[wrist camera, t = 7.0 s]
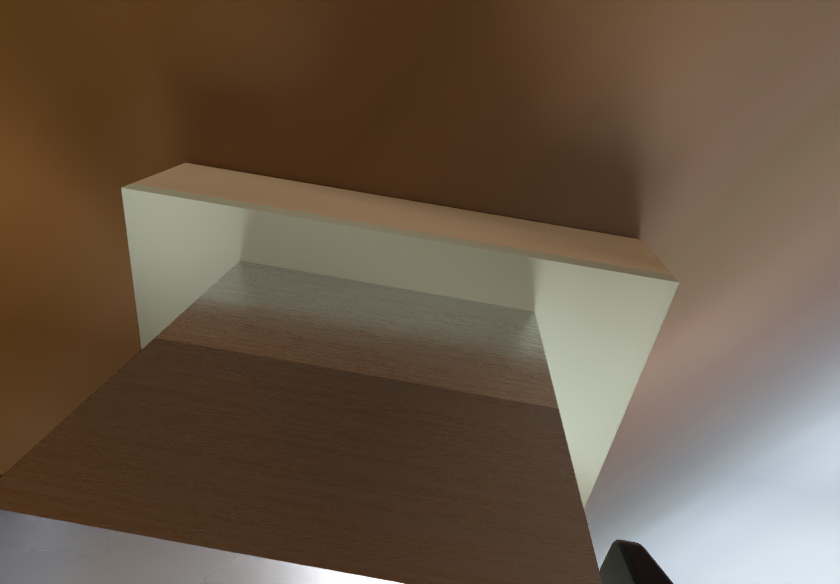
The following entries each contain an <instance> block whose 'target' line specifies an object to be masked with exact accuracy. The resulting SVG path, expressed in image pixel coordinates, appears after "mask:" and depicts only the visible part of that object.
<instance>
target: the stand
mask: <svg viewBox="0 0 840 584" xmlns="http://www.w3.org/2000/svg"><path fill="white" fill-rule="evenodd" d="M121 191H122V199H123V207H124V214H125V222H126V230H127V238H128V246H129V254H130V262H131V270H132V278H133V286H134V294H135V302H136V310H137V318H138V326H139V333H140V341H141V349H143V348H144V347H145V346H146V345H147V344H148V343H149V342H151V341H152V340H153V339H154V338H155V337H156V336H157V335H158V334H159V333H160V332H162V331H163V330H164V329H165V328H166V327H167V326H168V325H169V324H170V323H171V322H173V321H174V320H175V319H176V318H177V317H178V316H179V315H180V314H181V313H183V312H184V311H185V310H186V309H187V308H188V307H189V306H190V305H191V304H192V303H194V302H195V301H196V300H197V299H198V298H199V297H200V296H201V295H202V294H203V293H205V292H206V291H207V290H208V289H209V288H210V287H211V286H212V285H213V284H215V283H216V282H217V281H218V280H219V279H220V278H221V277H222V276H223V275H224V274H226V273H227V272H228V271H229V270H230V269H231V268H232V267H233V266H234V265H235V264H237V263H238V262H239V261H240V260H241V261H246V262H252V263H258V264H264V265H269V266H275V267H281V268H287V269H292V270H298V271H304V272H310V273H316V274H321V275H327V276H333V277H339V278H344V279H350V280H356V281H362V282H367V283H373V284H379V285H385V286H391V287H396V288H402V289H408V290H414V291H419V292H425V293H431V294H437V295H442V296H448V297H454V298H460V299H466V300H471V301H477V302H483V303H489V304H494V305H500V306H506V307H512V308H517V309H523V310H529V311H535V315H536V319H537V323H538V327H539V331H540V335H541V339H542V343H543V347H544V351H545V355H546V359H547V363H548V367H549V371H550V375H551V379H552V383H553V387H554V391H555V396H556V400H557V404H558V408H559V412H560V416H561V420H562V424H563V428H564V432H565V436H566V440H567V444H568V448H569V452H570V456H571V460H572V464H573V468H574V472H575V476H576V480H577V484H578V488H579V492H580V496H581V500H582V504H583V508H585V506H586V503H587V501H588V498H589V496H590V494H591V491H592V489H593V487H594V484H595V482H596V479H597V477H598V475H599V472H600V470H601V468H602V465H603V463H604V461H605V458H606V456H607V453H608V451H609V449H610V446H611V444H612V442H613V439H614V437H615V434H616V432H617V430H618V427H619V425H620V423H621V420H622V418H623V415H624V413H625V411H626V408H627V406H628V404H629V401H630V399H631V397H632V394H633V392H634V389H635V387H636V385H637V382H638V380H639V378H640V375H641V373H642V370H643V368H644V366H645V363H646V361H647V359H648V356H649V354H650V352H651V349H652V347H653V344H654V342H655V340H656V337H657V335H658V333H659V330H660V328H661V325H662V323H663V321H664V318H665V316H666V314H667V311H668V309H669V306H670V304H671V302H672V299H673V297H674V295H675V292H676V290H677V288H678V285H679V281H678V280H677V279H676V278H675V277H674V276H673V275H672V274H671V273H670V272H669V270H668V269H667V268H666V267H665V266H664V265H663V264H662V263H661V262H660V261H659V259H658V258H657V257H656V256H655V255H654V254H653V253H652V252H651V251H650V250H649V248H648V247H647V246H646V245H645V244H644V243H643V242H642V241H641V240H640V239H635V238H629V237H623V236H617V235H611V234H605V233H599V232H593V231H587V230H581V229H576V228H570V227H564V226H558V225H552V224H546V223H540V222H534V221H528V220H522V219H516V218H510V217H504V216H499V215H493V214H487V213H481V212H475V211H469V210H463V209H457V208H451V207H445V206H439V205H433V204H428V203H422V202H416V201H410V200H404V199H398V198H392V197H386V196H380V195H374V194H368V193H362V192H356V191H351V190H345V189H339V188H333V187H327V186H321V185H315V184H309V183H303V182H297V181H291V180H285V179H279V178H274V177H268V176H262V175H256V174H250V173H244V172H238V171H232V170H226V169H220V168H214V167H208V166H202V165H197V164H191V163H183V164H181V165H178V166H175V167H173V168H170V169H168V170H165V171H163V172H160V173H157V174H155V175H152V176H150V177H147V178H145V179H142V180H139V181H137V182H134V183H132V184H129V185H127V186H124V187H121Z"/></svg>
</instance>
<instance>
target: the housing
mask: <svg viewBox="0 0 840 584" xmlns="http://www.w3.org/2000/svg"><path fill="white" fill-rule="evenodd" d="M0 584H602V581H601V577H600V572H599V568H598V564H597V560H596V556H595V552H594V548H593V544H592V540H591V536H590V532H589V528H588V524H587V520H586V516H585V512H584V508H583V504H582V500H581V496H580V492H579V488H578V484H577V480H576V476H575V472H574V468H573V464H572V460H571V456H570V452H569V448H568V444H567V440H566V436H565V432H564V428H563V424H562V420H561V416H560V412H559V408H558V404H557V400H556V396H555V391H554V387H553V383H552V379H551V375H550V371H549V367H548V363H547V359H546V355H545V351H544V347H543V343H542V339H541V335H540V331H539V327H538V323H537V319H536V315H535V311H529V310H523V309H517V308H512V307H506V306H500V305H494V304H489V303H483V302H477V301H471V300H466V299H460V298H454V297H448V296H442V295H437V294H431V293H425V292H419V291H414V290H408V289H402V288H396V287H391V286H385V285H379V284H373V283H367V282H362V281H356V280H350V279H344V278H339V277H333V276H327V275H321V274H316V273H310V272H304V271H298V270H292V269H287V268H281V267H275V266H269V265H264V264H258V263H252V262H246V261H241V260H240V261H239V262H238V263H237V264H235V265H234V266H233V267H232V268H231V269H230V270H229V271H228V272H227V273H226V274H224V275H223V276H222V277H221V278H220V279H219V280H218V281H217V282H216V283H215V284H213V285H212V286H211V287H210V288H209V289H208V290H207V291H206V292H205V293H203V294H202V295H201V296H200V297H199V298H198V299H197V300H196V301H195V302H194V303H192V304H191V305H190V306H189V307H188V308H187V309H186V310H185V311H184V312H183V313H181V314H180V315H179V316H178V317H177V318H176V319H175V320H174V321H173V322H171V323H170V324H169V325H168V326H167V327H166V328H165V329H164V330H163V331H162V332H160V333H159V334H158V335H157V336H156V337H155V338H154V339H153V340H152V341H151V342H149V343H148V344H147V345H146V346H145V347H144V348H143V349H142V350H141V351H140V352H138V353H137V354H136V355H135V356H134V357H133V358H132V359H131V360H130V361H128V362H127V363H126V364H125V365H124V366H123V367H122V368H121V369H120V370H119V371H117V372H116V373H115V374H114V375H113V376H112V377H111V378H110V379H109V380H108V381H106V382H105V383H104V384H103V385H102V386H101V387H100V388H99V389H98V390H96V391H95V392H94V393H93V394H92V395H91V396H90V397H89V398H88V399H87V400H85V401H84V402H83V403H82V404H81V405H80V406H79V407H78V408H77V409H76V410H74V411H73V412H72V413H71V414H70V415H69V416H68V417H67V418H66V419H64V420H63V421H62V422H61V423H60V424H59V425H58V426H57V427H56V428H55V429H53V430H52V431H51V432H50V433H49V434H48V435H47V436H46V437H45V438H44V439H42V440H41V441H40V442H39V443H38V444H37V445H36V446H35V447H34V448H33V449H31V450H30V451H29V452H28V453H27V454H26V455H25V456H24V457H23V458H21V459H20V460H19V461H18V462H17V463H16V464H15V465H14V466H13V467H12V468H10V469H9V470H8V471H7V472H6V473H5V474H4V475H3V476H2V477H1V478H0Z"/></svg>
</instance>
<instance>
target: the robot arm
mask: <svg viewBox="0 0 840 584" xmlns="http://www.w3.org/2000/svg"><path fill="white" fill-rule="evenodd" d="M3 475H4V474H3ZM3 475H1V476H0V478H1V477H2V476H3ZM599 572H600V577H601V581H602V584H673V582H672V581H671V580H670V579H669V577H668V576H667V575H666V574H665V573H664V571H663V570H662V569H661V568H660V566H659V565H658V564H657V563H656V561H655V560H654V559H653V558H652V557H651V555H650V554H649V553H648V552H647V550H646V549H645V548H644V547H643V546H642V545H640V544H639V543H636V542H630V541H625V540H616V541H614V542H613V543H612V545H611V547H610V549H609V551H608V553H607V555H606V558H605V560H604V562H603V564H602V566H601V568H600V571H599Z"/></svg>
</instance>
